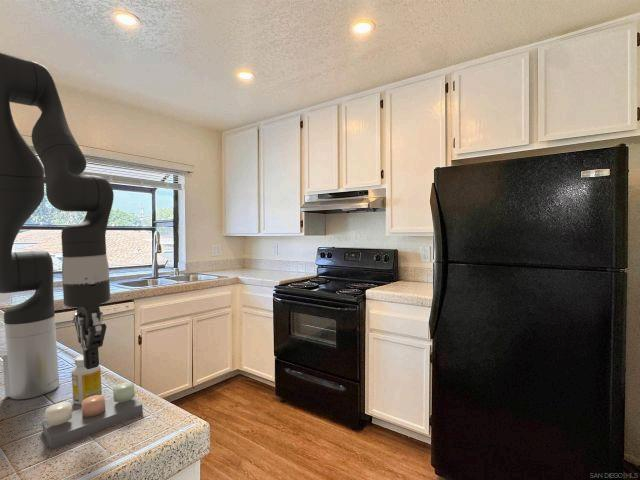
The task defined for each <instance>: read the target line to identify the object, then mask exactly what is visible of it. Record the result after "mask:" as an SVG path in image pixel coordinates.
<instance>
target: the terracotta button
mask: <svg viewBox="0 0 640 480" xmlns="http://www.w3.org/2000/svg"><path fill="white" fill-rule="evenodd" d="M105 400H106V398H105V395H103V394H102V395H95V396H91V397H88V398H86V399H84V400H83V401H82V404H81V408H82V415H83V416H84V417H91V416H95V415H98V414H100V413H102V412H103V411H105Z"/></svg>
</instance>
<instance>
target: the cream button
mask: <svg viewBox="0 0 640 480" xmlns="http://www.w3.org/2000/svg"><path fill="white" fill-rule="evenodd" d="M72 411H73V410H72V403H71V402H69V401H64V402H63V401H62V402H58V403H55V404H52V405H50V406H48V407H46V409H45V421H46V424H47V425H48V426H55V425H59V424H62V423H65V422H67V421H69V420H70V419H71V418H72Z"/></svg>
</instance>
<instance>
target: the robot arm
mask: <svg viewBox="0 0 640 480" xmlns="http://www.w3.org/2000/svg"><path fill="white" fill-rule="evenodd" d="M10 103H14V104H20V105H24V106H29V107H37V108H38V109H39V110H40V112H41V113H40V115H39V117H38V118H37V120H36V122H35V123H34V125H33V127H32V130H31V142H32V145H33V148H34V150H35V152H34V150H33V149H32V148H31V147H30V146H29V144H28V143H27V141H26V140H25V138H24V137H23V136H22V135H21V133H20V131H19V129H18V127H17V126H16V123H15V120H14V118H13V114H12V110H11V104H10ZM36 154H37V155H36ZM86 160H87V159H86V157H85V156H84V154H83V152H82V150H81V148H80V146H79V143H78V142H77V141H76V138H75V137H74V135H73V133H72V131H71V128H70V127H69V124H68V121H67V118H66V115H65V111H64V108H63V103H62V101H61V98H60V96H59V91H58V89H57V85H56V83H55V80H54V78H53V76H52V73H51V72H50V70H49V69H48V68H47V67H46V66H45V65H43V64H41V63H38V62H36V61H33V60H30V59H25V58H22V57H20V56H15V55H10V54H7V53H3V52H0V294H12V293H19V292H26V291H27V292H28V291H34V294H33V295H32V296H31V297H29V298H28V299H26V300H25V301H23V302H21V303H19V304H17V305H14V306H12V307H9V308H8V309H6V310H5V311H4V313H3V322H4V324H3V325H4V333H5V334H4V335H5V349H6V354H4V355H3V356H2V367H3V368H2V369H3V383H4V384H3V385H4V394H5V395H4V396H5V397H6V398H8V397H9V398H10V399H13V400H27V399H31V398H36V397H39V396H42V395H45V394H48V393H50V392H52V391H54V390H56V389H57V388H58V387H60V374H59V362H58V361H59V359H58V356H59V355H58V346H57V331H56V330H57V329H56V316H55V315H56V314H55V297H54V295H55V294H54V263H53V258H52V255H51V254H50V253H49V251H46V250H29V251H26V250H25V251H13V246H14V243H15V240H16V238H17V236H18V234H19V232H20V230H21V229H22V228H23V226H24V225H25V224H26V223H27V221H28V220H29V219H30V218H31V216H33V214H34V213H35V212H36V210H37V209H38V208H39V207H40V205H41V204H42V202H43V201H44V197H45V193H46V198H47V201H48V203H49V204H50V205H51V206H52V207H54V208H55V209H57V210H58V211H61V212H82V213H85V212H86V215H85V216H84V219H83V220H82V222H79V223H74V224H73V223H72V224H70V225H67V226H65V227H63V228H62V229H61V234H60V235H61V253H62V264H61V279H62V294H63V305H64V306H65V307H67V308H76V312H77V313H74V316H73V323H74V326H75V327H74V328H75V331H76V335H77V342H78V343H79V344H80V347H81V349H82V355H83V357H84V367H85V368H86V369H92V368H95V367H98V366H99V365H100V358H99V357H100V356H99V348H101V347H103V344H104V340H105V335H106V331H107V325H106V324H105V323H103V321H104V313H103V312H102V311H101V308H100V306H101V304H107V303H109V302H110V300H111V287H110V269H109V268H110V267H109V260H108V256H107V242H106V241H107V240H106V239H107V238H106V235H107V233H106V232H107V229H108V228H107V227H108V223H109V219H110V215H111V212H112V207H113V202H114V189H113V186H112V184H111V183H110V181H108V180H107V179H106V178H105V177H103V176H99V175H90V174H82V173H83V172H84V171H85V170H86V168H87V161H86ZM12 251H13V252H12Z"/></svg>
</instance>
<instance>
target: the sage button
mask: <svg viewBox="0 0 640 480" xmlns="http://www.w3.org/2000/svg"><path fill="white" fill-rule="evenodd" d="M112 391H113V392H112V393H113V398H114V401H115V402H124V401H128V400H130V399H132V398H133V397H134V398H135V395H136V394H135V393H136V392H135V383H134V382H131V381H126V382H125V381H124V382H121V383H118V384H116V385H115V386H113V388H112Z"/></svg>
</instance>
